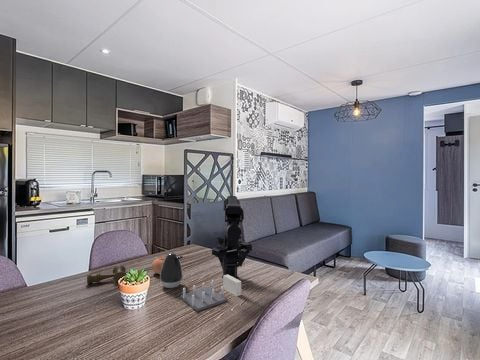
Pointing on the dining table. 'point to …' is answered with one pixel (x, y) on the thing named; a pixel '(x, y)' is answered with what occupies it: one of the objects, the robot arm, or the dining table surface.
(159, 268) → the tomato
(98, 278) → the kendama
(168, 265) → the pump dispenser
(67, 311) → the dining table surface
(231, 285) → the tile
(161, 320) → the dining table surface
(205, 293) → the rack
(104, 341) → the dining table surface
